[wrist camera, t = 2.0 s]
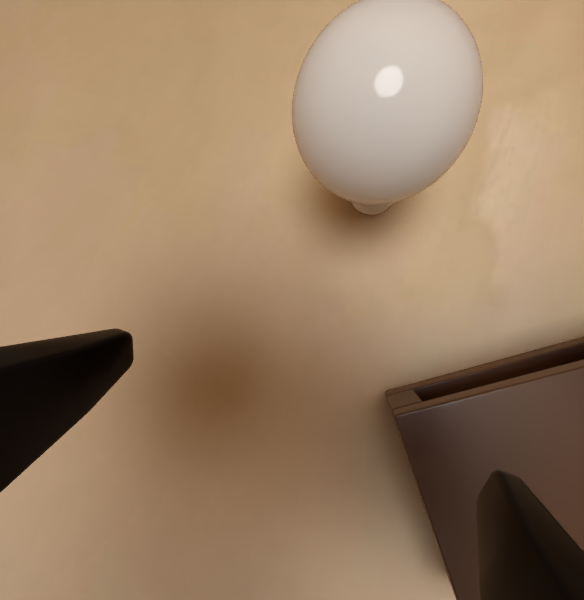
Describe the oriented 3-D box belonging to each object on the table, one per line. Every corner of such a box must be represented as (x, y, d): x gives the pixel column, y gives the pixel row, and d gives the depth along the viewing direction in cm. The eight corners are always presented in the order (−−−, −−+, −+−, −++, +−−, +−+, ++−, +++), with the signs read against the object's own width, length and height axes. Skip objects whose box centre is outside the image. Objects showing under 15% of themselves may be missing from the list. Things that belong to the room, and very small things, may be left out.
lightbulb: (352, 128, 20) (343, -104, 9) (450, 171, 18) (576, -43, 8) (300, 219, 20) (231, 99, 9) (393, 267, 19) (439, 192, 8)
